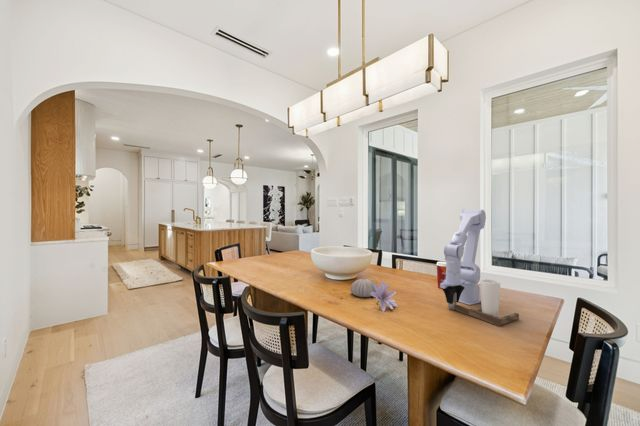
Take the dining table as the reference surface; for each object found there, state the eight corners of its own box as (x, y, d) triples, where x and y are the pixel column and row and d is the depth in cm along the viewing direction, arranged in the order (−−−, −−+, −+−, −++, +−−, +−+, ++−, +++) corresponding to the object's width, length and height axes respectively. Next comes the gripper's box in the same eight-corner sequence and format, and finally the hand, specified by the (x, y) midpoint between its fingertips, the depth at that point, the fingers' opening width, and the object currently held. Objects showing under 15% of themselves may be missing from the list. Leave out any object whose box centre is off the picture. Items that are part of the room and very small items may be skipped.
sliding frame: (467, 302, 127) (467, 287, 127) (519, 319, 108) (520, 301, 108) (446, 307, 120) (446, 291, 120) (498, 326, 101) (498, 307, 101)
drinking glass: (503, 322, 104) (503, 284, 104) (483, 321, 106) (484, 283, 105) (495, 316, 111) (495, 279, 111) (477, 314, 112) (477, 278, 112)
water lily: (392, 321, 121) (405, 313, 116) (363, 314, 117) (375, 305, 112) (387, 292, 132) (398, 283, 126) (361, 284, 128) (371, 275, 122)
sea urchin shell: (355, 299, 130) (356, 283, 130) (346, 291, 143) (346, 276, 143) (381, 298, 133) (381, 281, 133) (369, 289, 146) (370, 275, 146)
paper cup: (444, 290, 146) (445, 264, 146) (432, 286, 153) (433, 262, 152) (454, 288, 149) (454, 263, 149) (442, 285, 156) (442, 260, 156)
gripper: (455, 268, 126) (455, 297, 126) (434, 271, 119) (433, 302, 119) (470, 271, 120) (469, 302, 120) (448, 274, 113) (448, 307, 113)
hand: (452, 302), depth 119 cm, fingers open, 3 cm apart
